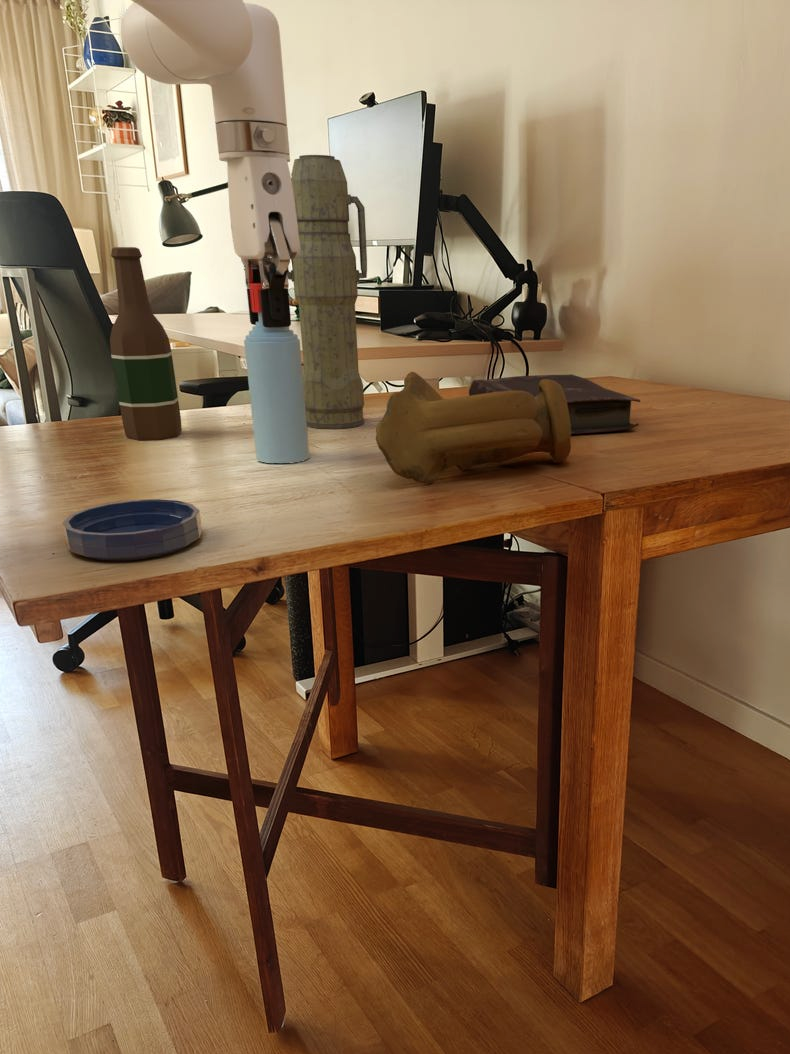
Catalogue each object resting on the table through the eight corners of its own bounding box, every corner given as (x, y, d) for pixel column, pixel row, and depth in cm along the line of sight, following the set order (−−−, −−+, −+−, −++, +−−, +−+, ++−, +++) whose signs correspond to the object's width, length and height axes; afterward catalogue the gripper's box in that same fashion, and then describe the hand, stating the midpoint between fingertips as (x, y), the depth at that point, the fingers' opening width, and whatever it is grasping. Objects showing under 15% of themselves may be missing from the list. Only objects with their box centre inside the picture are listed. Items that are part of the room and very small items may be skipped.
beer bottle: (189, 437, 119) (162, 247, 110) (130, 442, 116) (97, 247, 106) (177, 428, 126) (150, 247, 116) (120, 433, 122) (88, 247, 112)
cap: (259, 310, 102) (256, 283, 101) (291, 310, 101) (289, 283, 100) (246, 312, 98) (243, 284, 97) (279, 312, 98) (277, 284, 97)
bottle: (267, 466, 103) (248, 290, 95) (249, 456, 108) (231, 289, 100) (317, 460, 106) (303, 289, 98) (298, 451, 111) (284, 287, 103)
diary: (520, 439, 118) (520, 401, 116) (468, 410, 140) (468, 378, 138) (643, 431, 123) (646, 395, 121) (575, 404, 145) (576, 373, 143)
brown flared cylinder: (373, 393, 107) (547, 360, 107) (394, 497, 108) (565, 464, 109) (360, 362, 88) (570, 322, 89) (385, 488, 90) (591, 448, 90)
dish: (80, 572, 69) (74, 542, 68) (59, 537, 77) (54, 510, 76) (217, 549, 74) (213, 521, 73) (183, 519, 83) (180, 493, 82)
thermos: (291, 420, 131) (268, 158, 117) (368, 416, 134) (355, 161, 120) (297, 430, 124) (273, 151, 109) (378, 426, 127) (365, 154, 112)
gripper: (314, 139, 88) (327, 329, 96) (262, 154, 101) (277, 320, 109) (242, 135, 85) (262, 332, 92) (198, 150, 98) (218, 322, 105)
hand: (270, 323), depth 101 cm, fingers closed on cap, 3 cm apart
